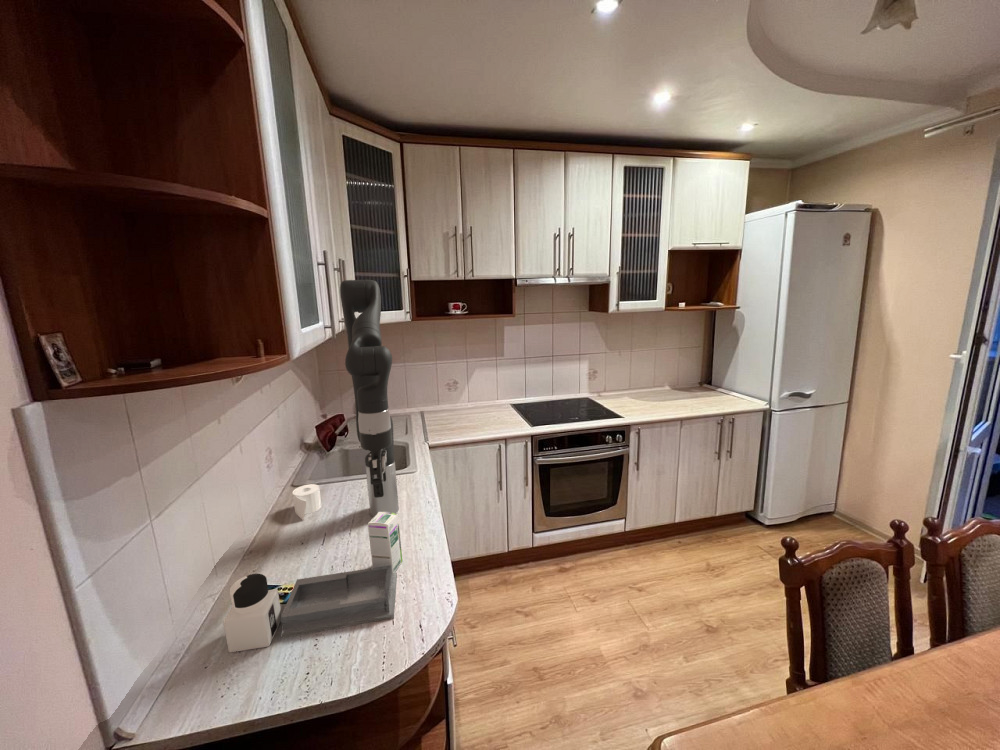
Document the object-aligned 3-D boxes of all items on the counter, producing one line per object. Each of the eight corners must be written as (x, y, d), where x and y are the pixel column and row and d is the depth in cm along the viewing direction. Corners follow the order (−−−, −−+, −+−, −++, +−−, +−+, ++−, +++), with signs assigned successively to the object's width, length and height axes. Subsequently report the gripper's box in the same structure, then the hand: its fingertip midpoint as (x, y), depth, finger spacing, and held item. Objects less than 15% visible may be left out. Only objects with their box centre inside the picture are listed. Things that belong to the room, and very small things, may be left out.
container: (282, 618, 90) (274, 566, 87) (269, 647, 82) (260, 591, 80) (245, 623, 89) (236, 571, 86) (228, 653, 81) (217, 597, 79)
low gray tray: (300, 591, 98) (298, 576, 97) (396, 575, 103) (395, 562, 102) (281, 637, 85) (279, 621, 84) (394, 617, 89) (392, 602, 88)
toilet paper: (303, 521, 130) (300, 501, 128) (291, 508, 138) (288, 490, 136) (328, 511, 135) (326, 492, 134) (316, 500, 143) (313, 481, 142)
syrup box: (393, 576, 103) (388, 524, 100) (372, 573, 104) (367, 522, 101) (402, 561, 108) (398, 512, 105) (382, 559, 109) (378, 510, 107)
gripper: (362, 420, 105) (368, 478, 108) (354, 438, 91) (361, 504, 94) (392, 418, 106) (397, 475, 109) (389, 435, 93) (394, 500, 96)
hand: (380, 488), depth 102 cm, fingers open, 8 cm apart
